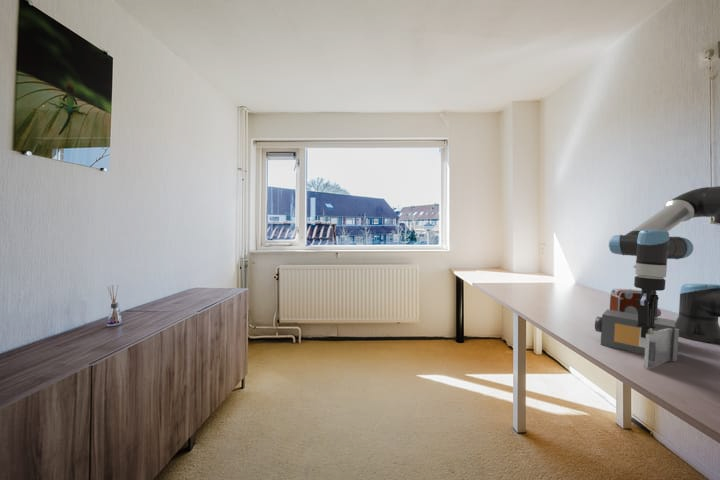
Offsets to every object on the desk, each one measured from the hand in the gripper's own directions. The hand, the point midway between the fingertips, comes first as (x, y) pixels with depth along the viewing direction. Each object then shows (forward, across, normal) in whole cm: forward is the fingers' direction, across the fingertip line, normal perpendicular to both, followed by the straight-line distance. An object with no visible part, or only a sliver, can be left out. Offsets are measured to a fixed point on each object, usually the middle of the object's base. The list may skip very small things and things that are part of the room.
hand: (644, 346), depth 105 cm
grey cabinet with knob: (+6, -17, -6) cm, 19 cm away
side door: (+5, -4, +3) cm, 7 cm away
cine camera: (+6, -36, -10) cm, 38 cm away
